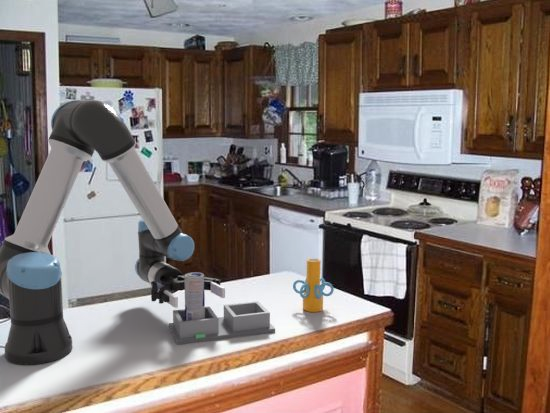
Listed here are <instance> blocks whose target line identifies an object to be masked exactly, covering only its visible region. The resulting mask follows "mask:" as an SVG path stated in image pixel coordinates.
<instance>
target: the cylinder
mask: <svg viewBox="0 0 550 413" xmlns="http://www.w3.org/2000/svg"><path fill="white" fill-rule="evenodd" d="M321 282H322V283H321ZM298 283H302V285H301V286H300V289H299V290H298V289H297V288H296V286H297V284H298ZM326 286H329V287H330V291H329V293H325V292H324V290H325V287H326ZM292 289H293V290H294V292H295V293H297V294H299V296H300V298H302V310H303V311H305V312H309V313H318V312H321V311H323V309H324V297H330V296H332V294H334V290H335V289H334V286H333V284H332V283H331V282H328V281H326V280H325V278H323V277H321V259H320V258H314V257H311V258H307V259H306V278H305V280H303V279H297V280H295V281H294V282H293V285H292Z"/></svg>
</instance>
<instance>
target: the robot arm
mask: <svg viewBox="0 0 550 413" xmlns="http://www.w3.org/2000/svg"><path fill="white" fill-rule="evenodd" d="M50 126H51V133H50V136H49V138H48V140H47V141H48V143H49V147H50V151H49V153H48V155H47V158H46V159H45V162H44V165H43V166H42V169H41V171H40V174H39V175H38V178H37V181H36V182H35V185H34V187H33V190H32V192H31V194H30V196H29V199H28V201H27V204H26V206H25V207H24V210H23V212H22V214H21V217H20V219H19V221H18V223H17V226H16V229H15V231H14V233H13V234H11V235H9V236H7V237H4V240H3V243H2V244H1V246H0V295H2V296H3V297H5V298H6V299H8V300H9V313H10V328H9V331H8V335H7V340H6V343H5V345H4V357H5V360H6V361H8V362H9V363H12V364H14V365H15V364H16V365H25V366H26V365H38V364H45V363H50V362H53V361H56V360H60V359H61V358H62V359H63V358H64V357H65V356H67V355H68V354H70V353H71V352H72V350H73V338H72V336H71V334H70V331H69V329H68V327H67V326H68V325H67V324H66V323H67V322H65V319H64V308H63V307H64V306H63V304H64V303H63V288H62V287H63V284H62V273H63V272H62V268H61V263H60V260H59V259H58V258H57V257H56V256H55V255H54V254H51V252H50V249H49V246H48V245H49V243H50V240H51V238H52V235H53V234H54V231H55V229H56V227H57V223H59V220H60V217H61V215H62V213H63V210H64V208H65V205H66V202H67V200H68V198H69V196H70V194H71V192H72V189H73V187H74V185H75V182H76V179H77V177H78V174H80V170H81V168H82V166H83V163H84V162H85V161H88V160H91V159H92V157H93V155H94V153H95V152H96V153H97V154H98V156H99V157H100V159H101V160H102V161H103V162H106V163H108V164H109V166H110V167H111V169H112V171H113V173H114V174H115V175H116V177H117V178H118V181H119V182H120V184H121V185H122V188H123V189H124V191H125V193H126V194H127V196H128V198H129V199H130V201H131V202H132V204H133V205H134V207H135V209H136V211H137V212H138V214H139V216H141V219H140V220H139V221H138V222H137V223H138V225H137V227H138V228H137V229H138V230H137V235H138V236H137V237H138V250H139V251H138V259H137V260H136V262H135V265H134V271H135V273H136V275H137V276H138V277H139V278H140V279H141V280H142V281H144V282H146V283H149V284H150V291H151V292H150V299H151V302H156V301H157V300H158V304H164V303H167V304H169V305H170V306H171V307H172V308H175V309H176V308H177V309H178V308H179V304H178V303H179V302H178V300H179V298H178V296H177V295H176V294H175V293H177V292H178V291H185V275H184V274H183V273H182V271H181V270H180V269H178V268H177V267H174V266H172V264H171V265H170V264H169V263H166V258H168V259H171V260H173V261H178V262H184V261H186V260H188V259H190V258H191V257H192V255H193V254H194V251H195V241H194V240H193V238H192V237H191V236H189V235H188V234H186V233H183V231H182V229H181V228H180V226H179V224H178V222H177V221H176V219H175V217H174V216H173V213H172V212H171V209H170V208H169V206H168V205H167V203H166V201H165V200H164V198H163V196H162V194H161V192H160V191H159V189H158V187H157V185H156V184H155V182H154V180H153V178H152V177H151V175H150V173H149V171H148V169H147V167H146V166H145V164H144V162H143V160H142V158H141V157H140V155H139V154H138V152H137V150H136V145H137V142H136V140H135V138H134V136H133V135H132V132H131V131H130V130H129V128H128V126H127V124H126V123H125V121H124V120H123V118H122V117H121V115H120V114H119V113H118V112H117V111H116V110H115V109H114V108H113V107H112V106H111V105H109V104H107V103H106V102H103V101H101V100H97V99H96V100H95V99H93V100H81V99H79V100H78V99H76V100H70V101H68V102H65V103H63V104H61V105H59V106H58V107H57V108H56V109H55V110H54V112H53V114H52V116H51V119H50ZM204 291H210V293H212V294H214V295H216V296H217V297H219V298H221V299H225V298H226V287H224V286H222V285H221V279H218V278H216V277H215V278H213V277H207V276H204Z"/></svg>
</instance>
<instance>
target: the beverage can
mask: <svg viewBox="0 0 550 413" xmlns="http://www.w3.org/2000/svg"><path fill="white" fill-rule="evenodd" d="M184 276H185V290H184V309H185V321H191V320H200V319H205V307H206V306H205V304H206V303H205V301H206V299H205V298H206V296H205V290H204V277H205V274H204V273H203V272H199V271H198V272H197V271H195V272H193V271H192V272H188V273H185V274H184Z"/></svg>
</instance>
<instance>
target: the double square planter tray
mask: <svg viewBox="0 0 550 413" xmlns="http://www.w3.org/2000/svg"><path fill="white" fill-rule="evenodd" d="M270 317H271V312H270V311H269V310H268V309H266V307H265V306H264V305H263V304H261V303H260V301H259V300H257V301H256V300H255V301H249V302H248V301H247V302H239V303H230V304H223V316H221V317H220V316H219V317H218V316H217V315H216V312H214V310H213V309H212V308H211V307H210V306H205V319H200V320H191V321H185V308H184V309H175V310H172V322H168V328H170V329H169V330H171V331H170V332H171V334H172V337H173V339H174V340H175V343H176V345H179V346H180V345H186V344H187V343H188V344H194V343H202V342H208V341H217V340H224V339H233V338H240V337H241V338H242V337H249V336H256V335H263V334H271V333H272V334H273V333H276V328H275V327H274V326H273V325H272V324H271V318H270Z"/></svg>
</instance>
